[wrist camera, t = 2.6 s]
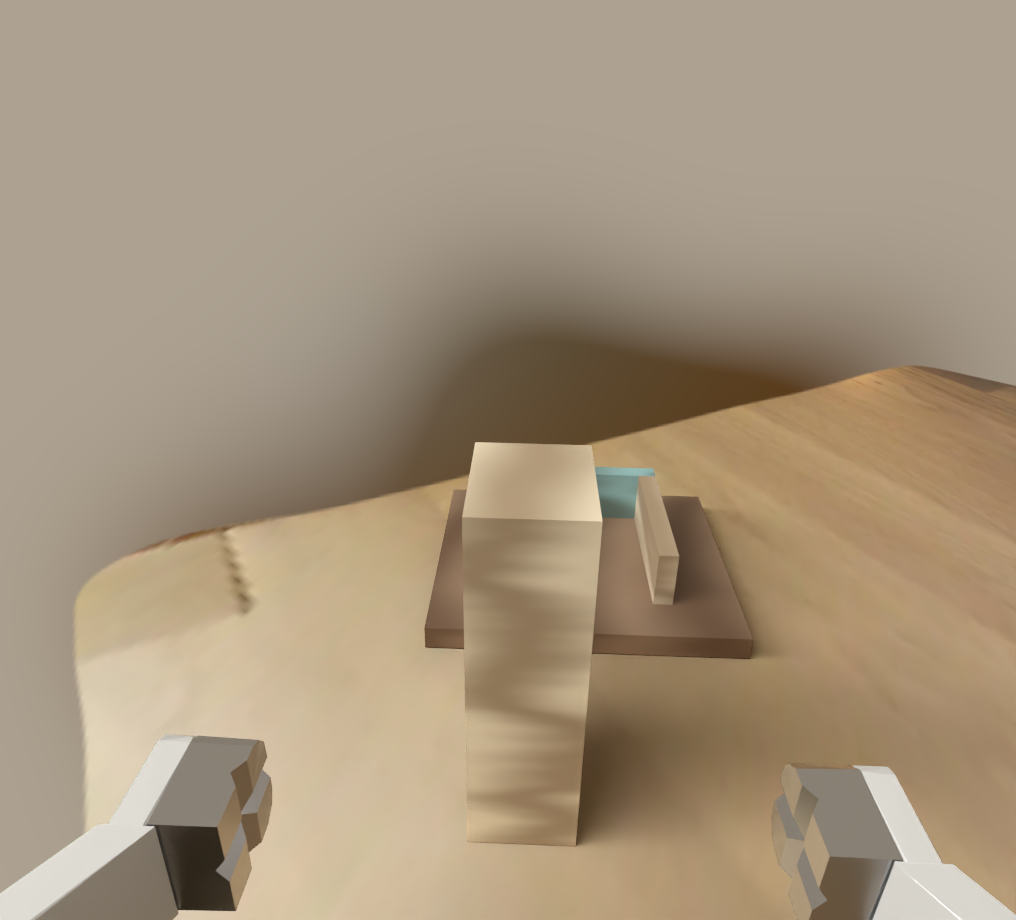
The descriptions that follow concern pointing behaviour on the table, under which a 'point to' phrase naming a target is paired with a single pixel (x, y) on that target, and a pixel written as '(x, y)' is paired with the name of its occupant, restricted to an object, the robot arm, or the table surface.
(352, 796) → the table surface
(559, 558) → the tan tall rectangular block
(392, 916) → the table surface
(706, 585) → the dock
